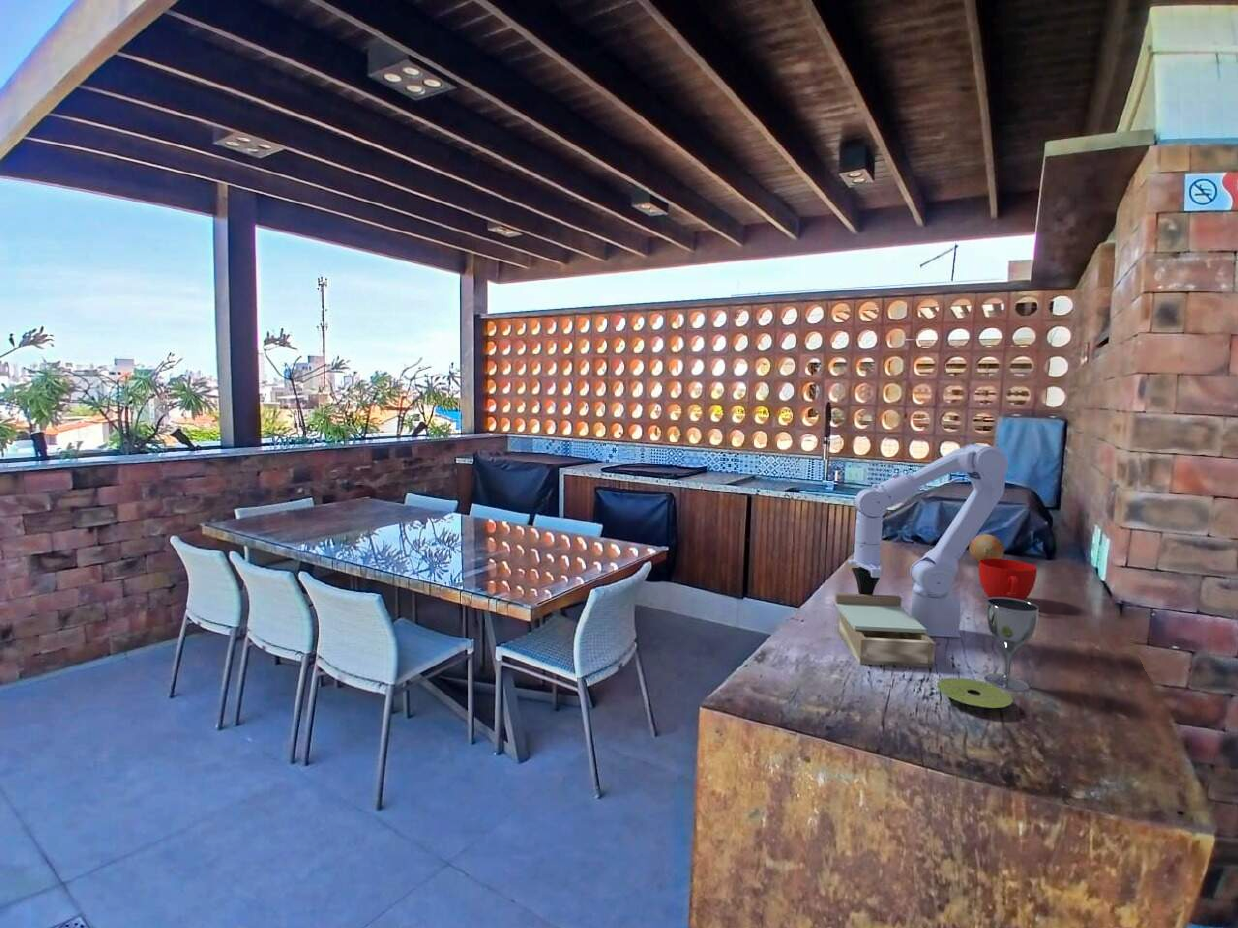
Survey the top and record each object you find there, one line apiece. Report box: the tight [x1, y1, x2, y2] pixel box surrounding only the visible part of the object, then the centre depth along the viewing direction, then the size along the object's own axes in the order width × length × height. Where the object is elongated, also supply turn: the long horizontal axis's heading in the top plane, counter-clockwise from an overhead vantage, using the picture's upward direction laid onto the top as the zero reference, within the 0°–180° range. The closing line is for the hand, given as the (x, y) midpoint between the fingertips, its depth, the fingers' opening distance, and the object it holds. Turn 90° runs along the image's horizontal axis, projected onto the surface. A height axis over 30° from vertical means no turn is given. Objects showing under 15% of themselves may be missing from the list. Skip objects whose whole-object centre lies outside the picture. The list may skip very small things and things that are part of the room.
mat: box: [936, 677, 1013, 709], centre depth 106 cm, size 11×11×2 cm
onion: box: [968, 533, 1005, 563], centre depth 202 cm, size 10×10×10 cm
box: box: [838, 612, 936, 669], centre depth 128 cm, size 14×16×5 cm
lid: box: [834, 592, 926, 633], centre depth 132 cm, size 14×16×3 cm
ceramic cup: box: [978, 558, 1038, 601], centre depth 161 cm, size 13×17×10 cm
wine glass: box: [984, 597, 1039, 692], centre depth 113 cm, size 8×8×15 cm
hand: (865, 600), depth 141 cm, fingers closed
